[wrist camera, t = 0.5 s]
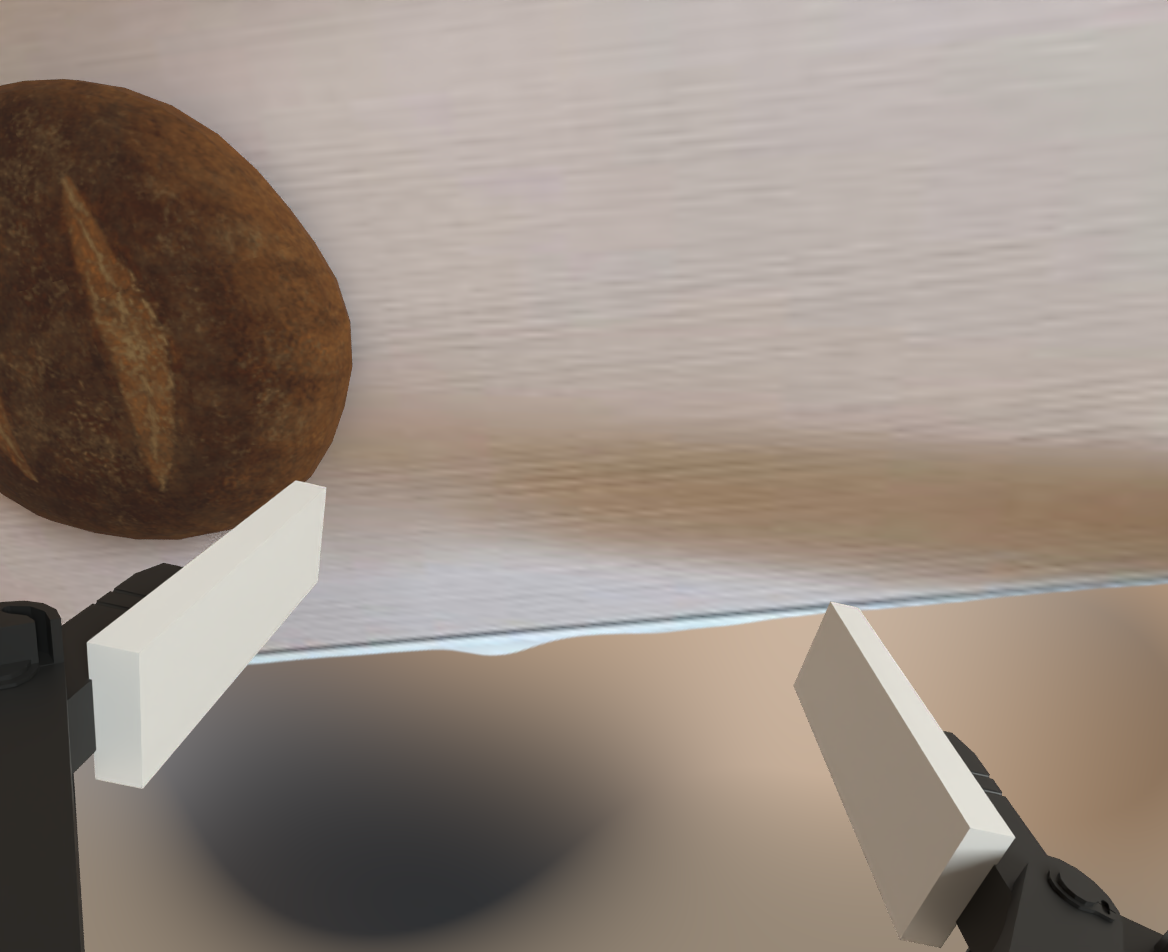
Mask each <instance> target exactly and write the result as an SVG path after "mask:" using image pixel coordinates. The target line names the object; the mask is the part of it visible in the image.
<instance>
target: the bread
mask: <svg viewBox="0 0 1168 952" xmlns="http://www.w3.org/2000/svg"><path fill="white" fill-rule="evenodd" d="M351 370H352V350H351V328H350V319H349V316H348V313H347V310H346V307H345V304H344V301H343V297H342V294H341V291H340V288H339V285H338V282H337V279H336V277H335V276H334V274H333V272H332V271H331V269H330V267H329V266H328V264H327V262H326V260H325V259H324V257H323V255H322V254H321V252H320V250H319V249H318V247H317V245H316V244H315V242H314V241H313V239H312V238H311V237H310V235H309V234H308V233H307V231H306V230H305V228H304V227H303V226H302V224H301V223H300V222H299V220H298V219H297V218H296V216H295V215H294V213H293V212H292V211H291V209H290V208H289V207H288V206H287V205H286V203H285V202H284V201H283V200H282V199H281V197H280V196H279V195H278V194H277V193H276V192H275V190H274V189H273V188H272V187H271V186H270V184H269V183H268V182H267V181H266V180H265V178H264V177H263V176H262V175H261V174H260V173H259V172H258V170H257V169H256V168H254V167H253V166H252V165H251V164H250V163H249V162H248V161H247V160H246V159H245V158H243V157H242V156H241V155H240V154H239V153H238V152H237V151H236V150H235V149H234V148H233V147H231V146H230V145H229V144H228V143H227V142H226V141H225V140H224V139H223V138H222V137H220V136H219V135H218V134H217V133H215V132H214V131H212V130H210V129H209V128H207V127H206V126H204V125H202V124H201V123H199V122H198V121H196V120H194V119H193V118H191V117H189V116H188V115H186V114H185V113H183V112H181V111H180V110H178V109H177V108H175V107H173V106H172V105H169V104H166V103H164V102H161V101H158V100H156V99H153V98H150V97H148V96H145V95H142V94H140V93H137V92H134V91H132V90H129V89H126V88H122V87H116V86H110V85H104V84H98V83H92V82H86V81H79V80H68V79H58V80H35V81H22V82H17V83H12V84H7V85H2V86H0V492H1V493H2V494H3V495H5V496H6V497H8V498H10V499H11V500H13V501H15V502H16V503H18V504H20V505H21V506H23V507H25V508H26V509H28V510H30V511H31V512H33V513H35V514H36V515H39V516H41V517H44V518H46V519H49V520H52V521H55V522H58V523H62V524H66V525H69V526H73V527H76V528H80V529H84V530H87V531H91V532H94V533H100V534H106V535H113V536H119V537H126V538H132V539H169V540H178V539H183V538H188V537H194V536H199V535H204V534H209V533H214V532H219V531H224V530H230V529H234V528H235V527H236V526H237V525H239V524H240V523H241V522H243V521H244V520H245V519H246V518H248V517H249V516H250V515H252V514H253V513H254V512H255V511H257V510H258V509H259V508H261V507H262V506H263V505H265V504H266V503H267V502H268V501H270V500H271V499H272V498H274V497H275V496H276V495H277V494H279V493H280V492H281V491H283V490H284V489H285V488H286V487H288V486H289V485H290V484H292V483H293V482H294V481H301V482H305V481H306V480H307V479H309V478H310V477H311V476H312V474H313V473H314V471H315V469H316V468H317V466H318V464H319V463H320V461H321V460H322V458H323V456H324V455H325V453H326V451H327V450H328V448H329V446H330V445H331V443H332V441H333V438H334V435H335V432H336V429H337V426H338V423H339V421H340V418H341V415H342V412H343V409H344V406H345V401H346V396H347V391H348V386H349V381H350V376H351Z"/></svg>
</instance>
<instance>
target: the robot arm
mask: <svg viewBox="0 0 1168 952" xmlns="http://www.w3.org/2000/svg"><path fill="white" fill-rule="evenodd" d="M325 497H326V487H323V486H318V485H314V484H310V483H305V482H301V481H294V482H293V483H292V484H290V485H289V486H288V487H286V488H285V489H284V490H283V491H281V492H280V493H279V494H277V495H276V496H275V497H274V498H272V499H271V500H270V501H268V502H267V503H266V504H265V505H263V506H262V507H261V508H259V509H258V510H257V511H255V512H254V513H253V514H252V515H250V516H249V517H248V518H246V519H245V520H244V521H243V522H241V523H240V524H239V525H237V526H236V527H235V528H234V529H232V530H231V531H230V532H228V533H227V534H226V535H225V536H223V537H222V538H221V539H219V540H218V541H217V542H215V543H214V544H213V545H212V546H210V547H209V548H208V549H206V550H205V551H204V552H203V553H201V554H200V555H199V556H197V557H196V558H195V559H194V560H192V561H191V562H190V563H188V564H187V565H186V566H185V567H180V566H176V565H171V564H166V563H162V564H160V565H157V566H154V567H151V568H149V569H146V570H143V571H141V572H138V573H135V574H134V575H133V576H131V577H130V578H128V579H127V580H125V581H124V582H123V583H121V584H120V585H118V586H117V587H116V588H114V591H113V592H111V591H110V592H109V593H107V594H106V595H104V596H103V597H101V598H100V599H99V600H97V603H96V604H92V605H90V606H89V607H87V608H86V609H85V610H83V611H82V612H80V613H79V614H78V615H76V616H75V617H73V618H72V619H70V620H69V621H68V622H66V623H65V624H63V625H62V626H61V617H60V616H59V614H58V612H57V610H56V609H54V608H52V607H50V606H48V605H46V604H44V603H38V602H30V601H12V602H0V952H85V949H84V935H83V934H84V933H83V917H82V900H81V885H80V868H79V852H78V836H77V819H76V803H75V787H74V774H73V773H74V772H75V771H76V770H77V769H78V768H79V767H80V766H81V765H82V764H83V763H84V762H85V761H86V760H87V759H88V758H89V757H90V756H91V755H92V754H93V753H94V764H95V779H97V780H102V781H107V782H112V783H117V784H122V785H127V786H132V787H137V788H142V789H143V788H144V786H145V785H146V784H147V783H148V782H149V781H150V779H151V778H152V777H153V776H154V775H155V773H156V772H157V771H158V770H159V769H160V768H161V766H162V765H163V764H164V763H165V762H166V760H167V759H168V758H169V757H170V756H171V755H172V753H173V752H174V751H175V750H176V749H177V747H178V746H179V745H180V744H181V743H182V742H183V740H184V739H185V738H186V737H187V736H188V734H189V733H190V732H191V731H192V730H193V728H194V727H195V726H196V725H197V723H198V722H199V721H200V720H201V719H202V718H203V717H204V715H205V714H206V713H207V712H208V710H209V709H210V708H211V707H212V706H213V705H214V704H215V702H216V701H217V700H218V699H219V698H220V697H221V695H222V694H223V693H224V692H225V691H226V689H227V688H228V687H229V686H230V685H231V684H232V682H233V681H234V680H235V679H236V678H237V676H238V675H239V674H240V673H241V672H242V670H243V669H244V668H245V667H246V666H247V665H248V663H249V662H250V661H251V660H252V659H253V658H254V656H255V655H256V654H257V653H258V652H259V650H260V649H261V648H262V647H263V646H264V644H265V643H266V642H267V641H268V640H269V639H270V637H271V636H272V635H273V634H274V633H275V631H276V630H277V629H278V628H279V627H280V626H281V624H282V623H283V622H284V621H285V620H286V618H287V617H288V616H289V615H290V614H291V613H292V611H293V610H294V609H295V608H296V607H297V605H298V604H299V603H300V602H301V601H302V600H303V598H304V597H305V596H306V595H307V594H308V592H309V591H310V590H311V589H312V588H313V586H314V585H315V584H316V583H317V582H318V573H319V562H320V552H321V541H322V530H323V519H324V508H325ZM794 688H795V690H796V693H797V695H798V697H799V700H800V702H801V705H802V707H803V709H804V712H805V714H806V717H807V719H808V722H809V724H810V726H811V729H812V731H813V733H814V736H815V738H816V741H817V743H818V745H819V748H820V750H821V753H822V755H823V757H824V760H825V762H826V765H827V767H828V769H829V772H830V774H831V776H832V779H833V781H834V784H835V786H836V788H837V791H838V793H839V796H840V798H841V800H842V803H843V805H844V808H845V810H846V812H847V815H848V817H849V819H850V822H851V824H852V827H853V829H854V832H855V834H856V836H857V839H858V841H859V843H860V846H861V848H862V851H863V853H864V855H865V858H866V860H867V863H868V865H869V867H870V870H871V872H872V874H873V877H874V879H875V882H876V884H877V887H878V889H879V891H880V894H881V896H882V899H883V901H884V903H885V905H886V908H887V910H888V913H889V915H890V918H891V920H892V923H893V925H894V927H895V930H896V932H897V934H898V937H899V939H900V940H904V941H909V942H914V943H919V944H924V945H929V946H934V947H939V948H941V947H942V946H943V944H944V942H945V941H946V940H947V938H948V937H949V935H950V934H951V932H952V931H953V929H954V928H955V926H956V925H958V927H959V929H960V931H961V933H962V935H963V937H964V939H965V941H966V943H967V945H968V946H969V948H968V949H967V951H966V952H1168V931H1167V932H1166V933H1165V934H1164V935H1162V934H1160V933H1157V932H1155V931H1153V930H1151V929H1149V928H1146V927H1144V926H1142V925H1140V924H1138V923H1136V922H1134V921H1131V920H1129V919H1127V918H1125V917H1123V916H1121V915H1120V913H1119V911H1118V910H1117V908H1116V907H1115V905H1114V904H1113V902H1112V901H1111V899H1110V898H1109V897H1108V895H1107V894H1106V893H1105V892H1103V890H1102V889H1101V888H1100V887H1099V886H1098V885H1097V884H1096V883H1095V882H1094V881H1092V880H1091V879H1090V878H1089V877H1087V876H1086V875H1085V874H1083V873H1082V872H1081V871H1079V870H1078V869H1077V868H1075V867H1073V866H1071V865H1069V864H1067V863H1066V862H1064V861H1062V860H1060V859H1057V858H1054V857H1051V856H1047V854H1046V853H1045V852H1044V850H1043V849H1042V847H1041V846H1040V845H1039V843H1038V842H1037V840H1036V839H1035V837H1034V836H1033V835H1032V833H1031V832H1030V830H1029V829H1028V828H1027V826H1026V825H1025V824H1024V822H1023V821H1022V819H1021V818H1020V816H1019V815H1018V814H1017V812H1016V811H1015V810H1014V808H1013V807H1012V805H1011V804H1010V802H1009V801H1008V800H1007V798H1006V797H1004V796H1002V791H1001V790H1000V789H999V787H998V786H997V785H996V783H995V781H994V780H993V779H990V778H989V775H990V774H989V773H988V772H987V771H986V769H985V767H984V766H983V765H982V763H981V762H980V761H979V759H978V758H977V756H976V755H975V754H974V753H973V752H972V751H971V750H970V749H969V748H968V747H967V746H966V745H965V744H964V743H963V742H961V741H960V740H959V739H958V738H957V737H956V736H955V735H954V734H953V733H950V732H946V731H942V729H941V728H940V726H939V725H938V723H937V722H936V720H935V719H934V718H933V716H932V715H931V713H930V712H929V710H928V709H927V707H926V706H925V704H924V703H923V701H922V700H921V698H920V697H919V696H918V694H917V693H916V691H915V690H914V689H913V687H912V685H911V684H910V683H909V681H908V680H907V678H906V677H905V675H904V674H903V672H902V671H901V669H900V668H899V666H898V665H897V663H896V662H895V660H894V659H893V658H892V656H891V655H890V653H889V652H888V650H887V649H886V647H885V646H884V644H883V643H882V641H881V640H880V638H879V637H878V636H877V634H876V633H875V631H874V630H873V628H872V627H871V625H870V624H869V622H868V621H867V619H866V618H865V616H864V615H863V614H862V612H861V611H860V609H859V608H857V607H852V606H848V605H843V604H839V603H835V602H830V604H829V606H828V609H827V611H826V613H825V615H824V618H823V620H822V622H821V624H820V627H819V629H818V632H817V634H816V636H815V638H814V640H813V643H812V645H811V647H810V649H809V652H808V654H807V656H806V658H805V661H804V663H803V665H802V668H801V670H800V672H799V674H798V677H797V679H796V681H795V684H794Z"/></svg>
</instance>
